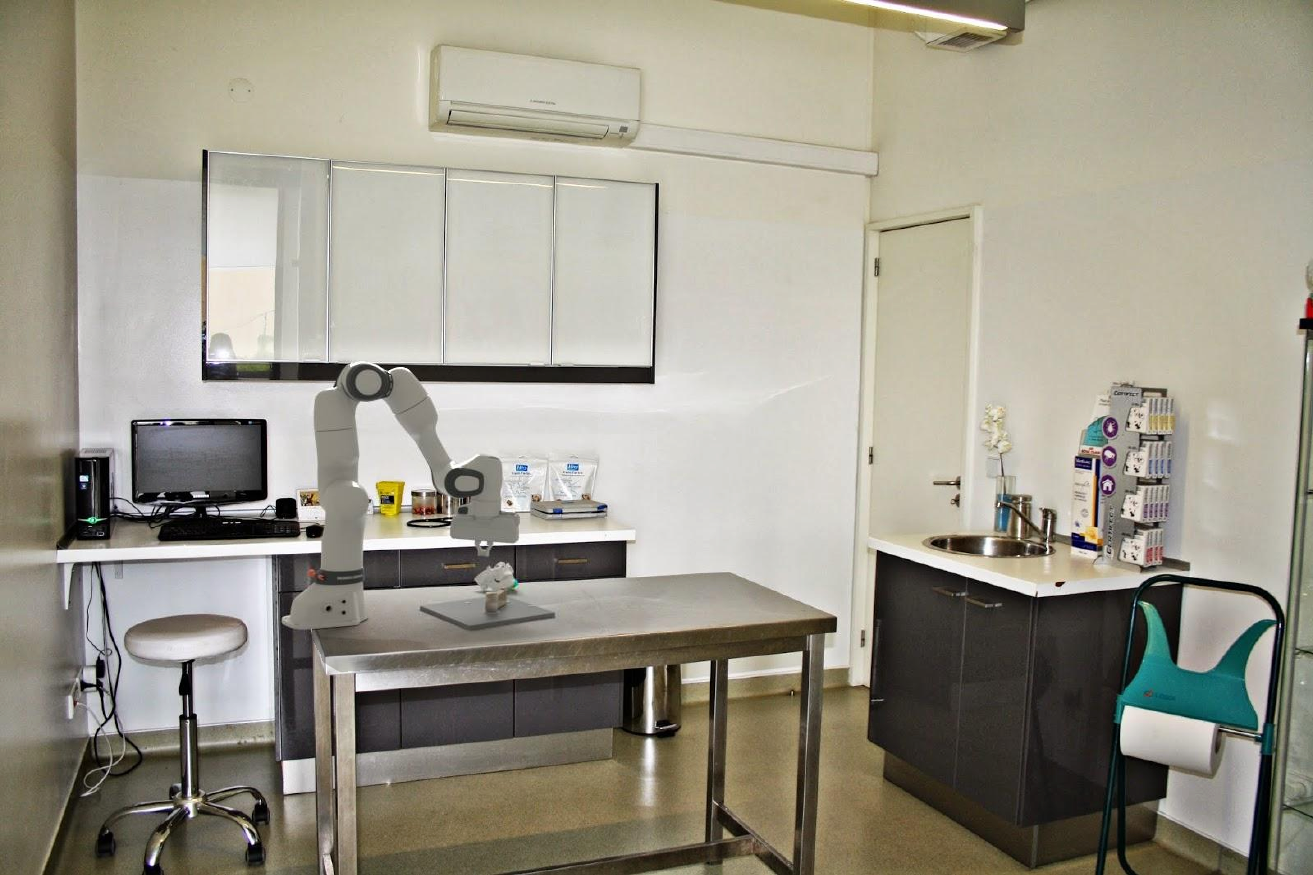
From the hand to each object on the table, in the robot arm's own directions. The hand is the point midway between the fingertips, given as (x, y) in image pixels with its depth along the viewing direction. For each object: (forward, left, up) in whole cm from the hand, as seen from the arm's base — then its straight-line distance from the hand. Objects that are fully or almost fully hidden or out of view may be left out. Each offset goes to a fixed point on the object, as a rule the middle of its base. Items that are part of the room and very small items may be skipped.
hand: (483, 556), depth 294 cm
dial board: (-2, -6, -16) cm, 17 cm away
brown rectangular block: (+1, -6, -14) cm, 16 cm away
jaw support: (+18, +19, -16) cm, 31 cm away
